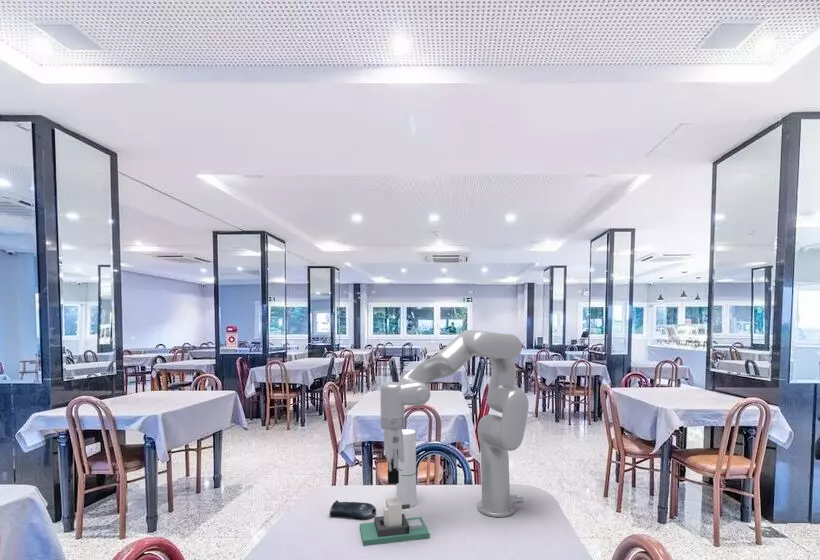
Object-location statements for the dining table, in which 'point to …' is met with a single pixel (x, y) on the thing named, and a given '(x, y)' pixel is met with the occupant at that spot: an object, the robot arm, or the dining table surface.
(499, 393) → the robot arm
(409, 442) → the cylindrical container
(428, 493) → the dining table surface
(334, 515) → the electronic device
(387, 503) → the keyed plug
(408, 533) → the circuit board
